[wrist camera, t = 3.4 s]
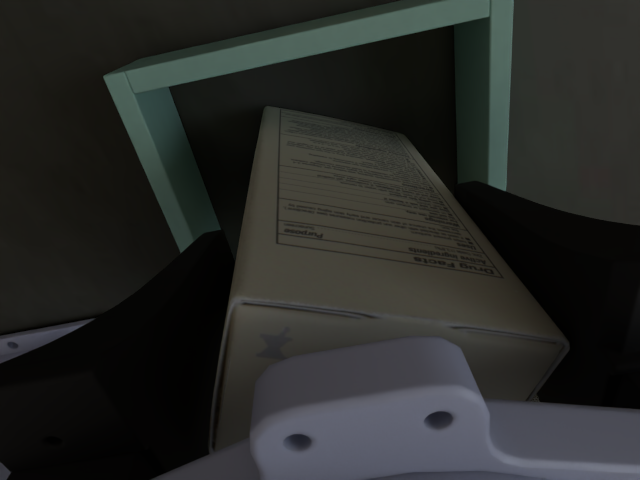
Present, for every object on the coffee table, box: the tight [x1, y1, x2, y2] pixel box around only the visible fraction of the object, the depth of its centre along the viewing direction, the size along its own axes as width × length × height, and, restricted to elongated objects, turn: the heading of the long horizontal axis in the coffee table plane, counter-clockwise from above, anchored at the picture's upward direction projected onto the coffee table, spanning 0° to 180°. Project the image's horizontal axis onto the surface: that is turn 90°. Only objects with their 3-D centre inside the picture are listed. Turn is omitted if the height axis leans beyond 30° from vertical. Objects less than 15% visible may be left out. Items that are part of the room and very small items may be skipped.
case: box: [103, 0, 514, 253], centre depth 17 cm, size 12×11×4 cm
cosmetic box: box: [208, 106, 570, 454], centre depth 13 cm, size 6×4×12 cm
